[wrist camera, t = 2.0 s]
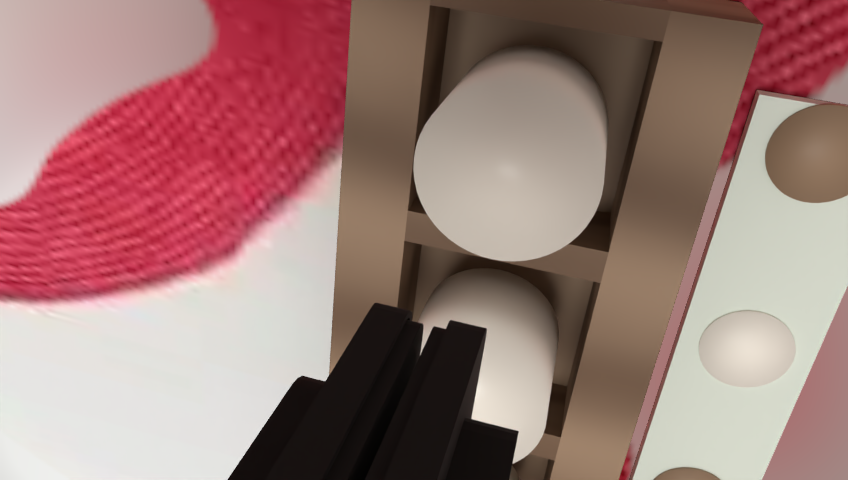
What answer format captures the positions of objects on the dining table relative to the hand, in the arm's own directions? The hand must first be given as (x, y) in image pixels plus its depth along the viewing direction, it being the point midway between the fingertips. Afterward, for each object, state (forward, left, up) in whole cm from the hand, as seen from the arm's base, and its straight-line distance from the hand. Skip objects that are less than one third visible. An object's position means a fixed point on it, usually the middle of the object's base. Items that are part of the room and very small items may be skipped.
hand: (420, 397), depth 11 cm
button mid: (+7, 0, -13) cm, 15 cm away
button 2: (0, 0, -13) cm, 13 cm away
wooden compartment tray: (+7, 0, -16) cm, 18 cm away
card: (+7, +9, -16) cm, 20 cm away
